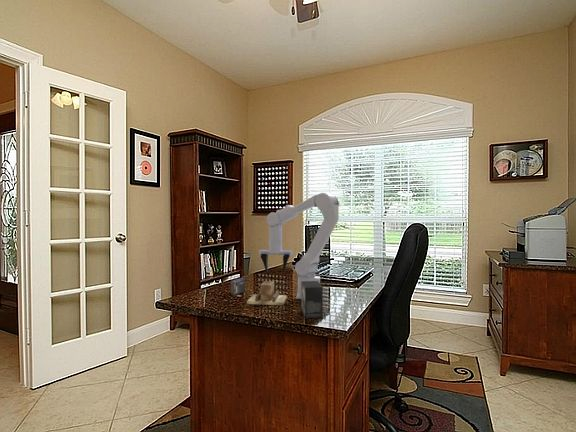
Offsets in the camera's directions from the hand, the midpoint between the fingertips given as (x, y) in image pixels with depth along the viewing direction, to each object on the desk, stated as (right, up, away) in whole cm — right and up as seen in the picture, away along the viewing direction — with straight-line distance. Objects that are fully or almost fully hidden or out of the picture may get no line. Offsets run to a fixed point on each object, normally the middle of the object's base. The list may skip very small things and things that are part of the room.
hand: (275, 271), depth 151 cm
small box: (+14, -10, -32) cm, 36 cm away
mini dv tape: (-16, -10, 0) cm, 19 cm away
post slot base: (-3, -9, -14) cm, 17 cm away
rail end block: (-3, -8, -14) cm, 16 cm away
